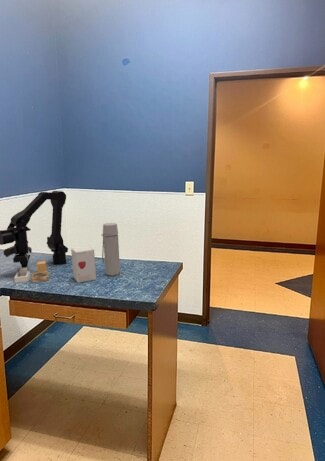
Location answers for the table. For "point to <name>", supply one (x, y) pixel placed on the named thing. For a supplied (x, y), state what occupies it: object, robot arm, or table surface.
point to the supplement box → (83, 263)
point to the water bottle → (111, 249)
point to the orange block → (41, 266)
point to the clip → (22, 277)
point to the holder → (40, 277)
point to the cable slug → (23, 271)
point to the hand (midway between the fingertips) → (24, 270)
